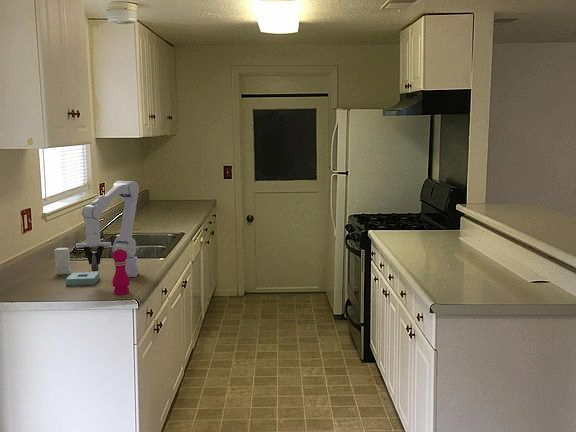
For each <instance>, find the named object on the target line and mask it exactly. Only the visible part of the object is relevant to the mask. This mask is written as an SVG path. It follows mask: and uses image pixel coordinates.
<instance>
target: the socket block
mask: <svg viewBox="0 0 576 432" xmlns="http://www.w3.org/2000/svg"><path fill="white" fill-rule="evenodd" d="M99 280H100V271H91V272H88V271H87V272H71V273H70V274H69V275H68V276H67V278H65V286H66V287H70V286H71V287H72V286H73V287H75V286H77V287H78V286H94V285H96V283H98V281H99Z"/></svg>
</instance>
